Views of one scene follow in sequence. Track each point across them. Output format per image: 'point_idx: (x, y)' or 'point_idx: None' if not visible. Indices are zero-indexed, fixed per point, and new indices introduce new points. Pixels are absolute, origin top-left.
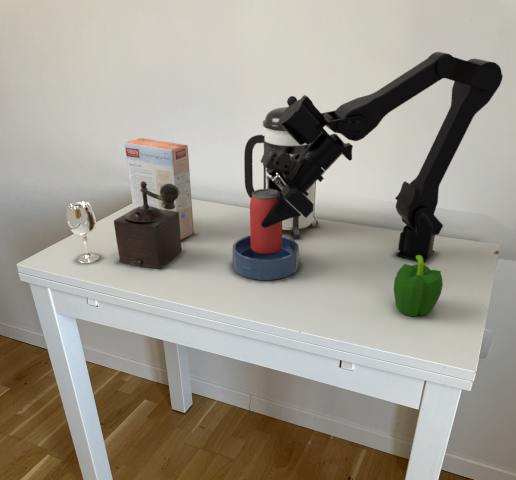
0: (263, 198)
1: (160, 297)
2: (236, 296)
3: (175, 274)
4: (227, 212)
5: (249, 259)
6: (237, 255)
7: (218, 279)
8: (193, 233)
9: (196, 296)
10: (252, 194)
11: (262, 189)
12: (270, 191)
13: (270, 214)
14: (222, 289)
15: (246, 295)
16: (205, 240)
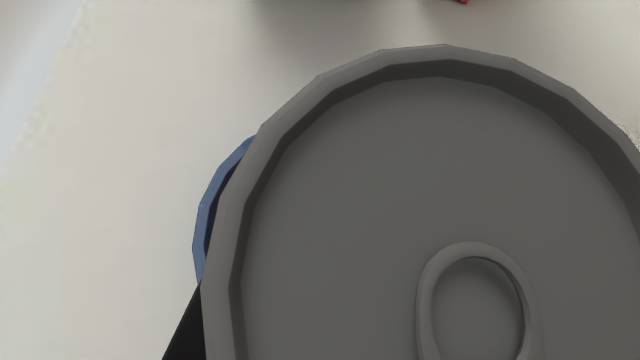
0: (207, 286)
1: (85, 9)
2: (107, 193)
3: (222, 14)
4: (628, 55)
5: (201, 200)
6: (237, 149)
7: (210, 122)
8: (465, 1)
9: (98, 90)
10: (368, 56)
11: (632, 167)
12: (628, 308)
13: (167, 354)
14: (148, 146)
15: (116, 220)
16: (440, 39)
